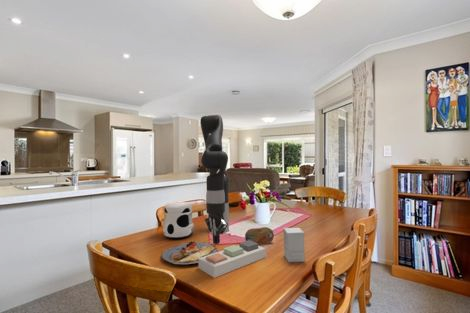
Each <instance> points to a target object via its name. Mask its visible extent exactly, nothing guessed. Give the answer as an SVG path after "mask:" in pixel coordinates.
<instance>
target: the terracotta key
mask: <svg viewBox="0 0 470 313" xmlns="http://www.w3.org/2000/svg"><path fill="white" fill-rule="evenodd" d="M206 260H208V261H210V262H211V263H213V264H216V263H219V262H222V261H225V260H227V257H225V256H223V255H221V254H219V253H217V254H213V255H210V256H207V257H206Z"/></svg>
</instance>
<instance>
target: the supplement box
mask: <svg viewBox="0 0 470 313" xmlns="http://www.w3.org/2000/svg"><path fill="white" fill-rule="evenodd" d="M305 248H306V246H305V232H304V231H303V230H302V228H300V227H284V228H283V252H284V253H283V255H284V258H285V259H286V261H287V262H288V263H300V262H301V263H303V262H305V260H306V258H305V255H306V254H305V251H306V249H305Z"/></svg>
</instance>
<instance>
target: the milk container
mask: <svg viewBox="0 0 470 313" xmlns="http://www.w3.org/2000/svg"><path fill="white" fill-rule="evenodd" d="M162 226H163V227H162V230H163V231H162V232H163V234H164V236H165V237H166V238H168V239H184V238H188V237H190V236H191V235H193V233H194V230H195V224H194V220H193V206H192V203H191V202H185V201H184V202H183V201H182V202H179V201H177V202H170V203H166V204H165V205H164V221H163V225H162Z"/></svg>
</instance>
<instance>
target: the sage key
mask: <svg viewBox="0 0 470 313" xmlns="http://www.w3.org/2000/svg"><path fill="white" fill-rule="evenodd" d="M223 250H224V254H226V255H228V256H230V257H232V258H233V257H236V256H239V255H241V254H243V248H241V247H238V245H236V244H233V245H230V246H227V247H223Z"/></svg>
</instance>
